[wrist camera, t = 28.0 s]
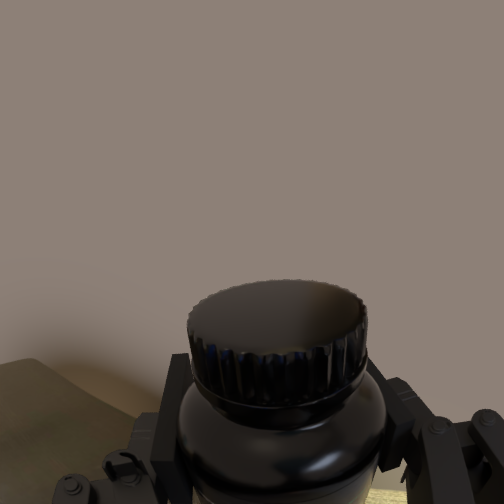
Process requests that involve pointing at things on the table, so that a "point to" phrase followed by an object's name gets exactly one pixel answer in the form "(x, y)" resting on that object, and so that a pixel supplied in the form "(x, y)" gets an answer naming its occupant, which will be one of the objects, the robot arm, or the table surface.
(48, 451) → the table surface
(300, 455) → the supplement bottle
